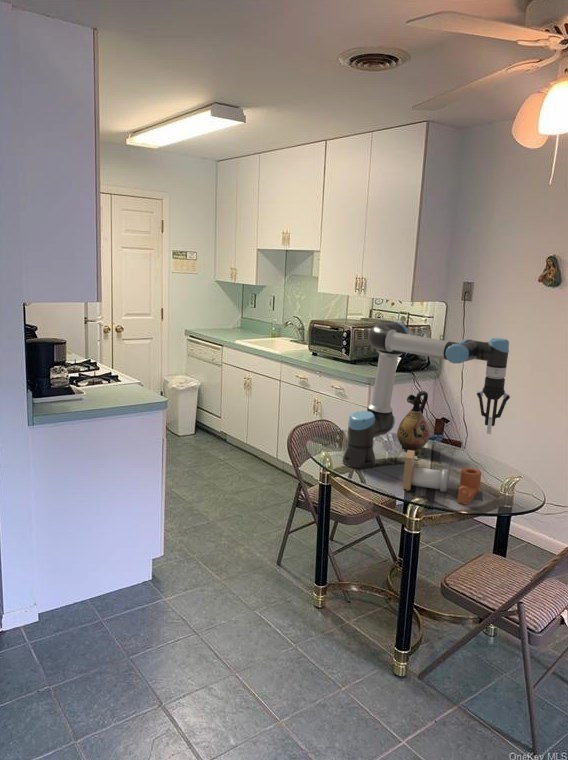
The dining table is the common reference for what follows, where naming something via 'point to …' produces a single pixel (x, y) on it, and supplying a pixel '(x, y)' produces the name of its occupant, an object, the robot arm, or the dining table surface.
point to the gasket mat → (455, 491)
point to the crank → (468, 485)
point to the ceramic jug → (414, 425)
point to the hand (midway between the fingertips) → (488, 433)
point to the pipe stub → (423, 475)
